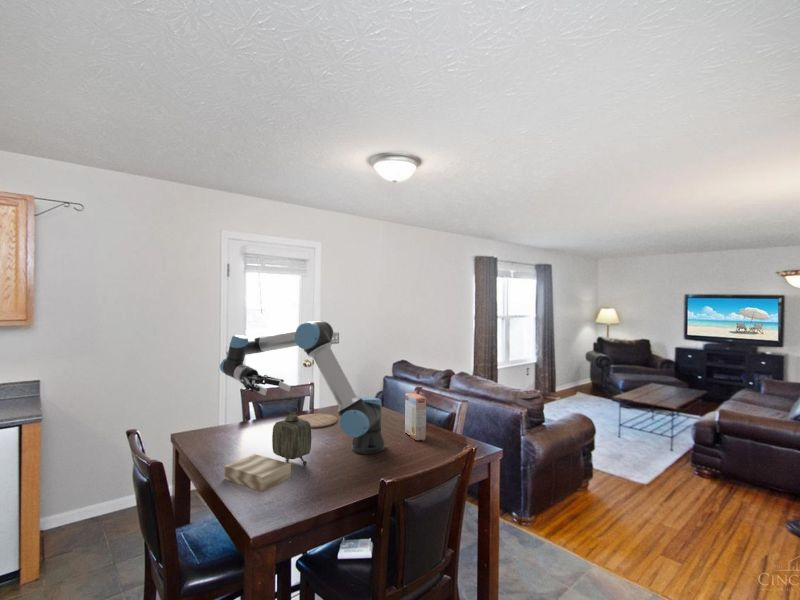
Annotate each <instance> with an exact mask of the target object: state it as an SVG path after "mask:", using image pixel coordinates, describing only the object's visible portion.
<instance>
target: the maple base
mask: <svg viewBox="0 0 800 600" xmlns="http://www.w3.org/2000/svg"><path fill="white" fill-rule="evenodd" d="M286 462H287V461H281V460H278V459H275V458H274V459H273V458H271V457H267V456H263V455H260V454H256V453H254V454H251V455H249V456H246V457H243V458H240V459H239V460H235V461H234V462H231V463H227V464H226V465H224V468H223V469H224V470H223V471H224V475H223V476H224V477H223V479H224V480H225V479H227V480H226V481H228V480H230V481H229V482H231V481H233V482H232V483H234V482H236V483H235V484H237V483H238V485H240V484H241V485H240V486H243V485H244V487H246V486H247V487H246V488H249V487H250V489H252V488H253V489H252V490H255V489H256V490H257V491H259V492H263V491H266V490H268V489H270V488H272V487H274V486H276V485H278V484H280V483H282V482H284V481H286V480H288V479H290V478H291V477H292V463H290V462H289V463H286ZM256 490H255V491H256Z"/></svg>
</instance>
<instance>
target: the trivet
mask: <svg viewBox="0 0 800 600" xmlns="http://www.w3.org/2000/svg"><path fill="white" fill-rule="evenodd" d="M297 416H298V418H300V419H303V420H306V421H308V422H309V423H310V426H311V428H316V429H322V428H321V427H324V428H328V427H331V426H330V425H332V426H334V425H335V424H337V422H338V421H337V420H338V418H337V417H336V416H335V415H333V414H329V413H309V414H301V415H297ZM333 424H334V425H333ZM327 426H328V427H327Z"/></svg>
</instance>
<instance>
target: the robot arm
mask: <svg viewBox="0 0 800 600" xmlns="http://www.w3.org/2000/svg"><path fill="white" fill-rule="evenodd" d="M333 337H334V330H333V327H332V326H331V324H330V323H329V322H327V321H325V320H318V321H317V320H315V321H312V320H308V321H305V322H302V323H301V324H300V325H298V326H297V328H296V330H291V331H286V332H281V333H280V332H278V333H275V334H270V335H265V336H260V337H259V336H258V337H253V338H249V337H247V336H246V335H243V334H242V335H241V334H234V335H232V336H231V340H230V342H229V347H228V351H227V355H226V356H227V357H226V358H224V359H222V361H221V362H220V364H219V370H220V371H221V372H222V373H224V374H225V375H226V376H228V377H230V378H232V379H234V380H237V381H238V382H239V383H241V384H243V385H242V386H244V389H245V390H246V391H250V392H251V393H252V392H254V391H255V392H257V393H259V394H261V395H263V396H267V391H268V388H266V387H265V386H262V385H271V386H276V387H278V388H280V389H282V390H283V391H286V392H287V393H289V392H290V391H291V388H292V387H291V385H290V384H288V383H286V382H285V380H284V379H283V378H278V377H274V376H270V375H268V374H264V375H261V374H259V372H258V371H257V369H255V368H253V367H250V366H249V365H246V364H244V362H245V357H246V355H253V354H260V353H264V352H270V351H275V350H280V349H287V348H292V347H298V348H301V349H302V350H304V352H305V353H306V355H307V356H308V357H309V358H313V361H314V362H315V364H316V366H317V368H318V370H319V372H320V373H321V376H322V377H323V379H324V381H325V383H326V385H327V387H328V388H329V390H330V392H331V394H332V396H333V398H334V400H335V401H336V404H337V405H338V408H337V413H338V415H339V417H340V418H339V419H340V421H339V426H340V429H341V430H342V432H343V433H344V434H345V435H346V436H348V437H351V438H353V439H352V443H351V450H352V451H353V452H355V453H358V454H361V455H362V454H363V455H370V454H371V455H372V454H373V453H374V454H377V453H381V452H383V451H384V450H385V448H386V443H385V440H384V436H383V433H382V407H383V405H382V400H381V399H380V398H378V397H377V398H376V397H369V396H368V397H365V396H363V397H361V396H357V394H356V393H355V390H354V389H353V387H352V385H351V383H350V382H349V380H348V377H347V376H346V374H345V372H344V370H343V369H342V367H341V365H340V364H339V363H340V362H338V359H337V358H336V356H335V354H334V352H333V349H332V340H333ZM382 450H383V451H382ZM380 451H381V452H380ZM374 454H373V455H374Z"/></svg>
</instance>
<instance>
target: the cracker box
mask: <svg viewBox="0 0 800 600" xmlns="http://www.w3.org/2000/svg"><path fill="white" fill-rule="evenodd" d="M404 395H405V399H404V401H405V403H404V404H405V405H404V407H405V408H404V411H405V415H404V421H405V422H404V434H405V433H407V434H408V435H410V436H411V437H412V438H414V439H415V440H419V439H426V440H427V397H425V396H423V395H420V394H418V393H417V392H406V393H405V394H404ZM407 434H406V435H407ZM408 435H407V436H408ZM411 437H410V438H411ZM412 438H411V439H412ZM414 439H413V440H414ZM415 440H414V441H415Z"/></svg>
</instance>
